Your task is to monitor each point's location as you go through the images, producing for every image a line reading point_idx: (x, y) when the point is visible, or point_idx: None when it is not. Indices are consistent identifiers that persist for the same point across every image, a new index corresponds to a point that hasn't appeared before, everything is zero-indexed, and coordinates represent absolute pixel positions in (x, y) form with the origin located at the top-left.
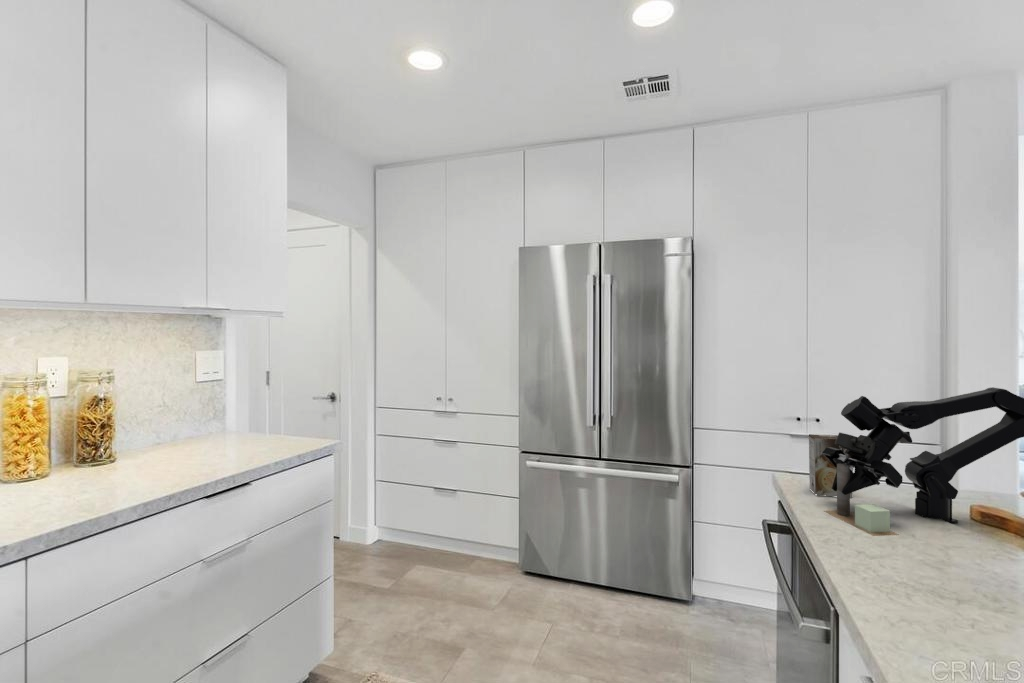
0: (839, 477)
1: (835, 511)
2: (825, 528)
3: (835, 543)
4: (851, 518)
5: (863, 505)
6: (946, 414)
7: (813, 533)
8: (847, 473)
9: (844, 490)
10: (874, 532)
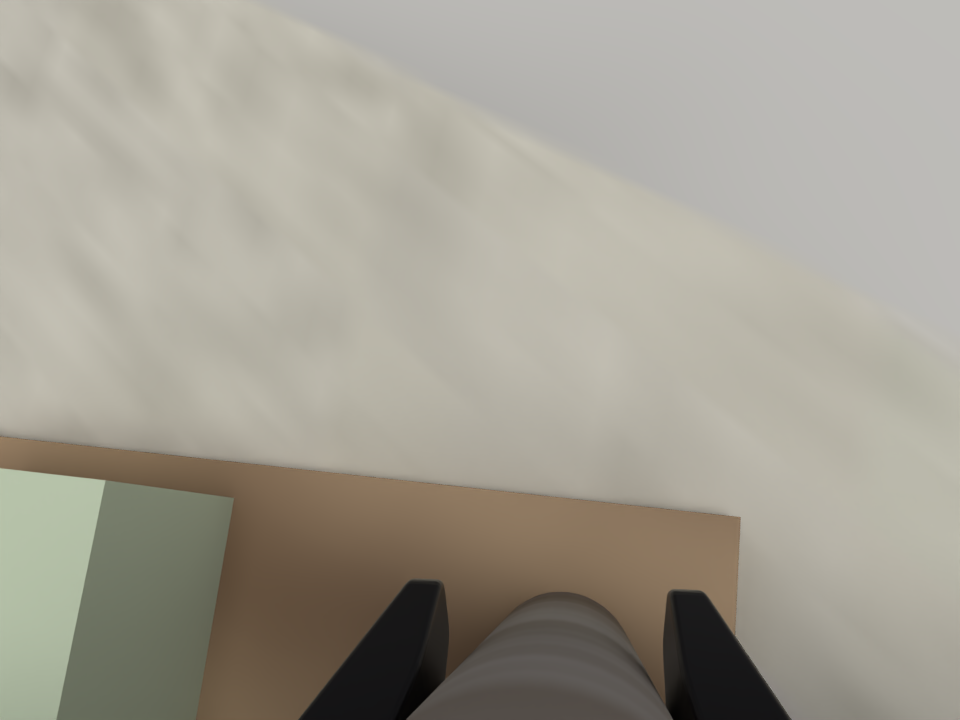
0: (516, 661)
1: None
2: (354, 229)
3: (52, 66)
4: None
5: (41, 587)
6: None
7: (280, 39)
8: None
9: (387, 611)
10: None
